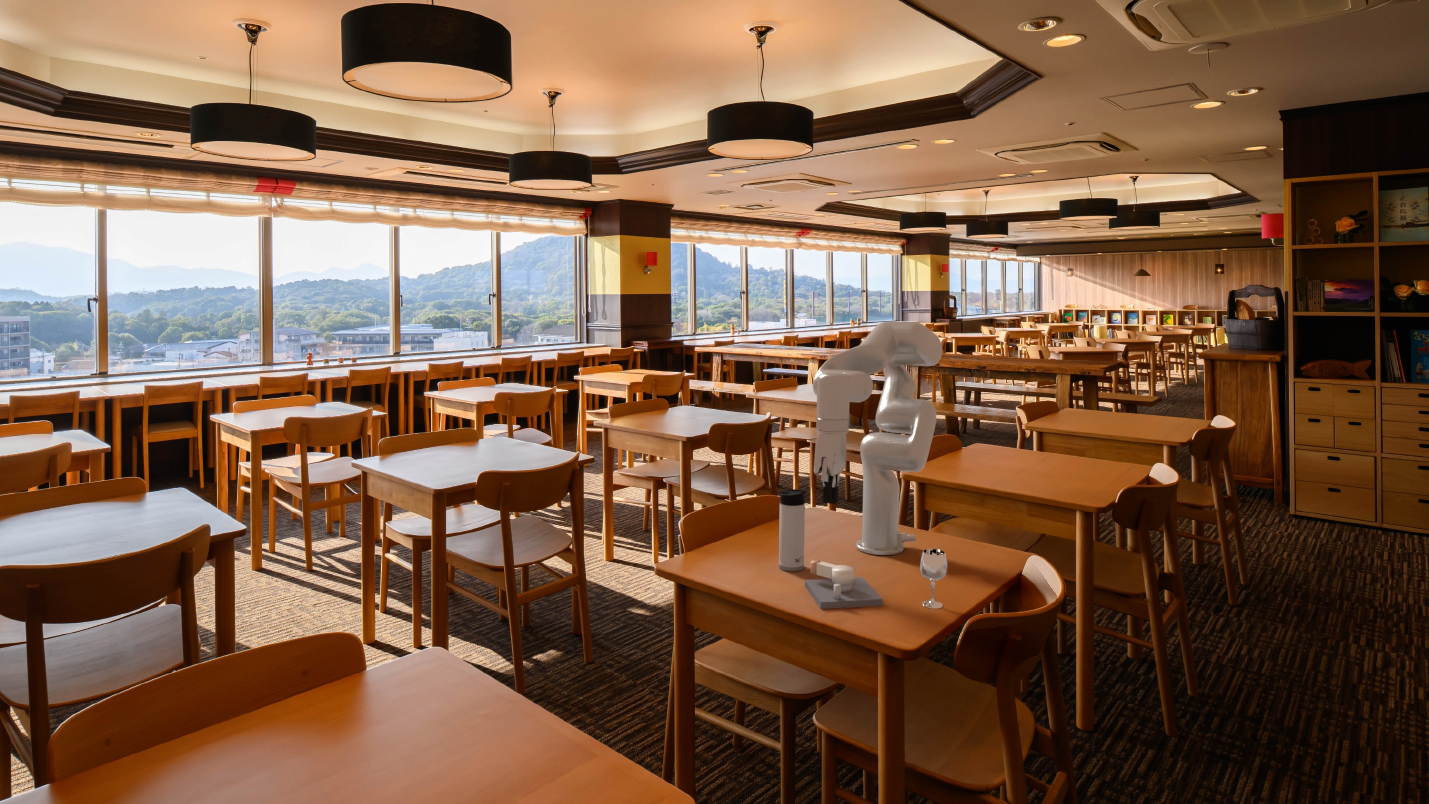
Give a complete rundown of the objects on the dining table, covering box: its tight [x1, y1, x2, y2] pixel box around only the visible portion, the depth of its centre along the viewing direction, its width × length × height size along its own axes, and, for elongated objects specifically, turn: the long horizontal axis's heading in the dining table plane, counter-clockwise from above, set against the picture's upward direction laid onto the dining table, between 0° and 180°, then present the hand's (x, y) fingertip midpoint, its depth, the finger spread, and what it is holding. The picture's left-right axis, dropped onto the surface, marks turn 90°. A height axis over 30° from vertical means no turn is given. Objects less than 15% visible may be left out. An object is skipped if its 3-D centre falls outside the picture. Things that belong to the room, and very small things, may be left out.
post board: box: [804, 576, 884, 610], centre depth 179 cm, size 14×14×4 cm
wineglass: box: [919, 548, 948, 610], centre depth 173 cm, size 6×6×12 cm
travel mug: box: [778, 488, 807, 573], centre depth 196 cm, size 6×7×20 cm
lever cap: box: [809, 559, 855, 585], centre depth 180 cm, size 11×5×3 cm, turn 48°
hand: (830, 502), depth 186 cm, fingers closed
